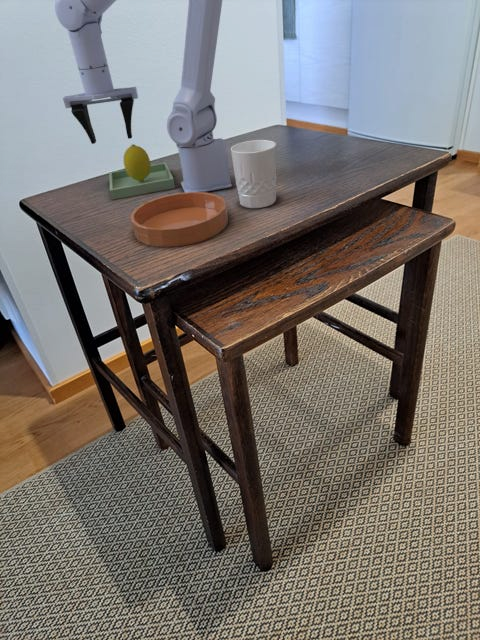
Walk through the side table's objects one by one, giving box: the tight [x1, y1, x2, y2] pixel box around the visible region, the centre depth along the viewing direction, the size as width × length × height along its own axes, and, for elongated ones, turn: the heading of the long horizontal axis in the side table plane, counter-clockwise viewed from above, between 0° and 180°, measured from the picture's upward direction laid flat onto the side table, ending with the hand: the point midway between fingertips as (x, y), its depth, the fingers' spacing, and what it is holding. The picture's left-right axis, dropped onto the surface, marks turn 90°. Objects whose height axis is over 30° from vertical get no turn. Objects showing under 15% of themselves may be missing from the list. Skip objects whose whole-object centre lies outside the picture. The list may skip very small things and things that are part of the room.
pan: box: [130, 191, 229, 248], centre depth 77 cm, size 16×16×3 cm
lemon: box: [123, 143, 152, 182], centre depth 96 cm, size 6×6×8 cm
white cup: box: [230, 139, 278, 209], centre depth 80 cm, size 8×8×10 cm
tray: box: [108, 162, 176, 200], centre depth 98 cm, size 13×13×2 cm
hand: (112, 140), depth 95 cm, fingers open, 7 cm apart
